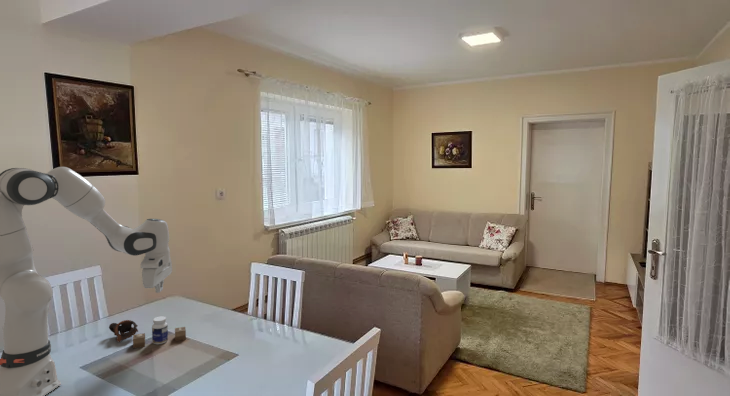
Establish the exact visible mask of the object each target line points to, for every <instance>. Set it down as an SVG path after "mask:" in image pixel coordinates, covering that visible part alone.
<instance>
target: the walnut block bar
mask: <svg viewBox="0 0 730 396" xmlns="http://www.w3.org/2000/svg"><path fill="white" fill-rule="evenodd" d="M186 331H187V330H186V326H181V327H175V328H174V339H175V340H174V342H178V341H185V340H186V339H187V338H186V337H187V332H186Z"/></svg>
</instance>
